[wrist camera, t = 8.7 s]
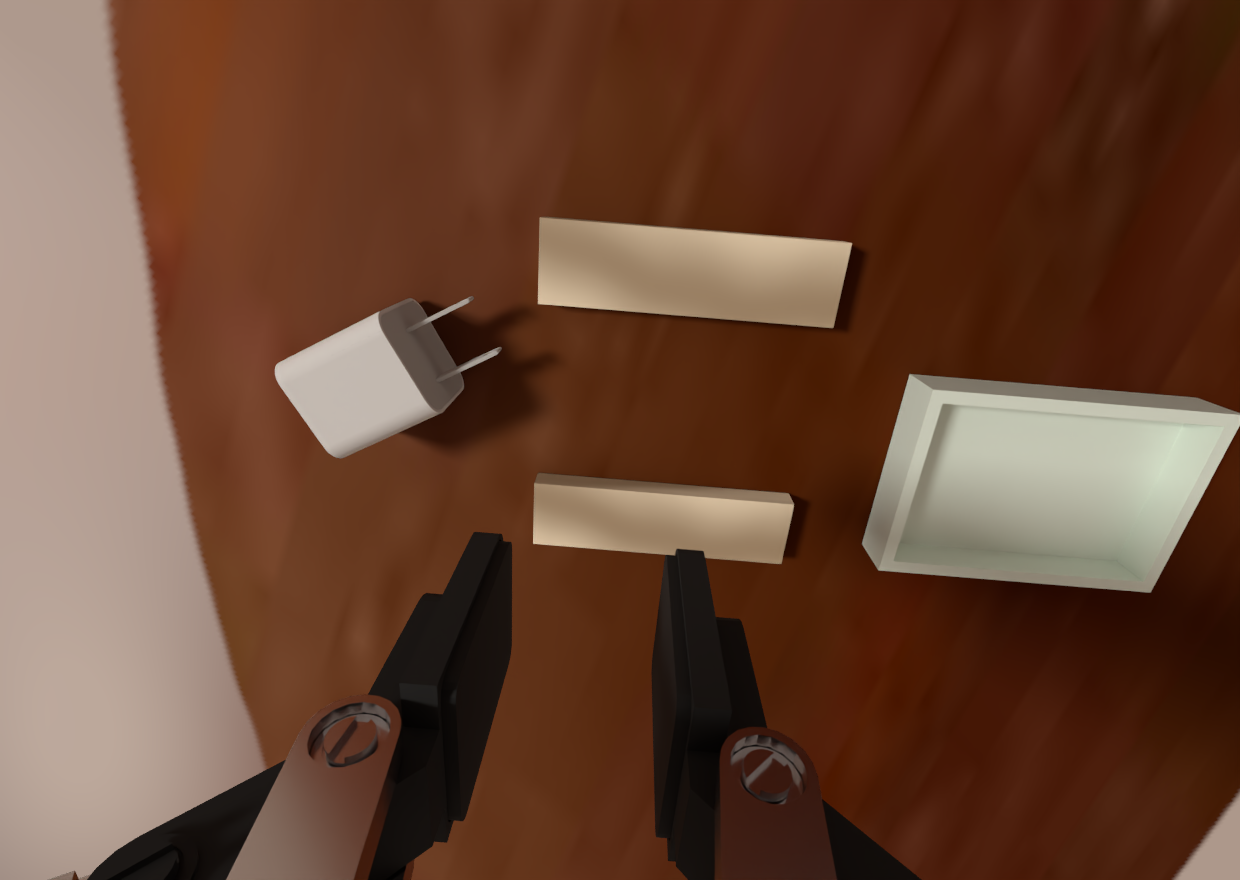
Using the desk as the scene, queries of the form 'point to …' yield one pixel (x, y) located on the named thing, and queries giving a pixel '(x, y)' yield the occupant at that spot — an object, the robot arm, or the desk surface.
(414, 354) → the usb wall charger
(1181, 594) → the desk surface
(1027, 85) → the desk surface
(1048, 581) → the tray
